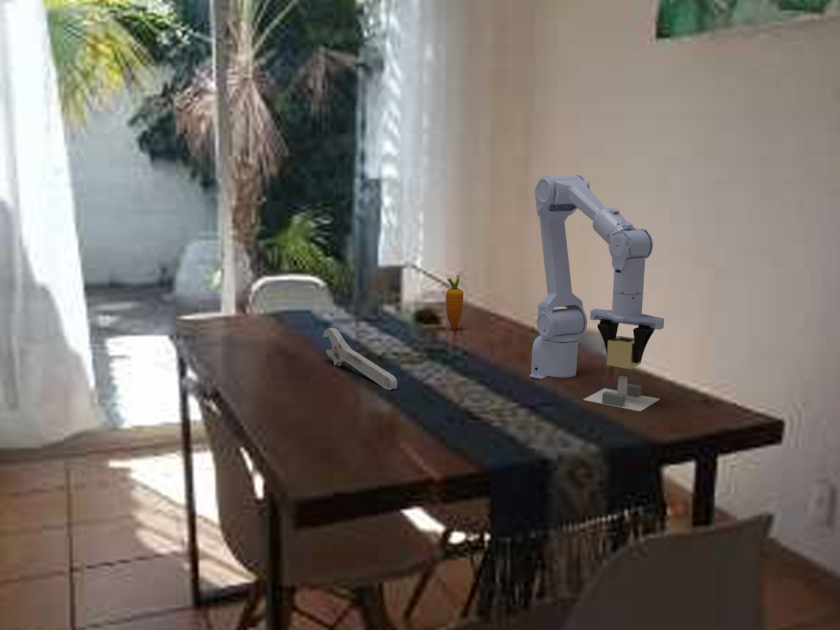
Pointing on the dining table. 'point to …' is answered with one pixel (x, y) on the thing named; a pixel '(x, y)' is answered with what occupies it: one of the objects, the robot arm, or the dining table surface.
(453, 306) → the carrot
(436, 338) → the dining table surface
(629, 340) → the brass collar
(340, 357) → the wrench
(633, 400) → the block
